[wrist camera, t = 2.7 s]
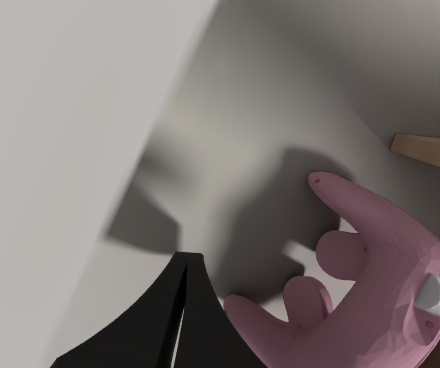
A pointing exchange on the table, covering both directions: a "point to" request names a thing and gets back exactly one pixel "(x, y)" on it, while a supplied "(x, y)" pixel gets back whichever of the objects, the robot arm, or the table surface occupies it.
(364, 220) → the video game controller
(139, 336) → the robot arm
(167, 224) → the table surface
